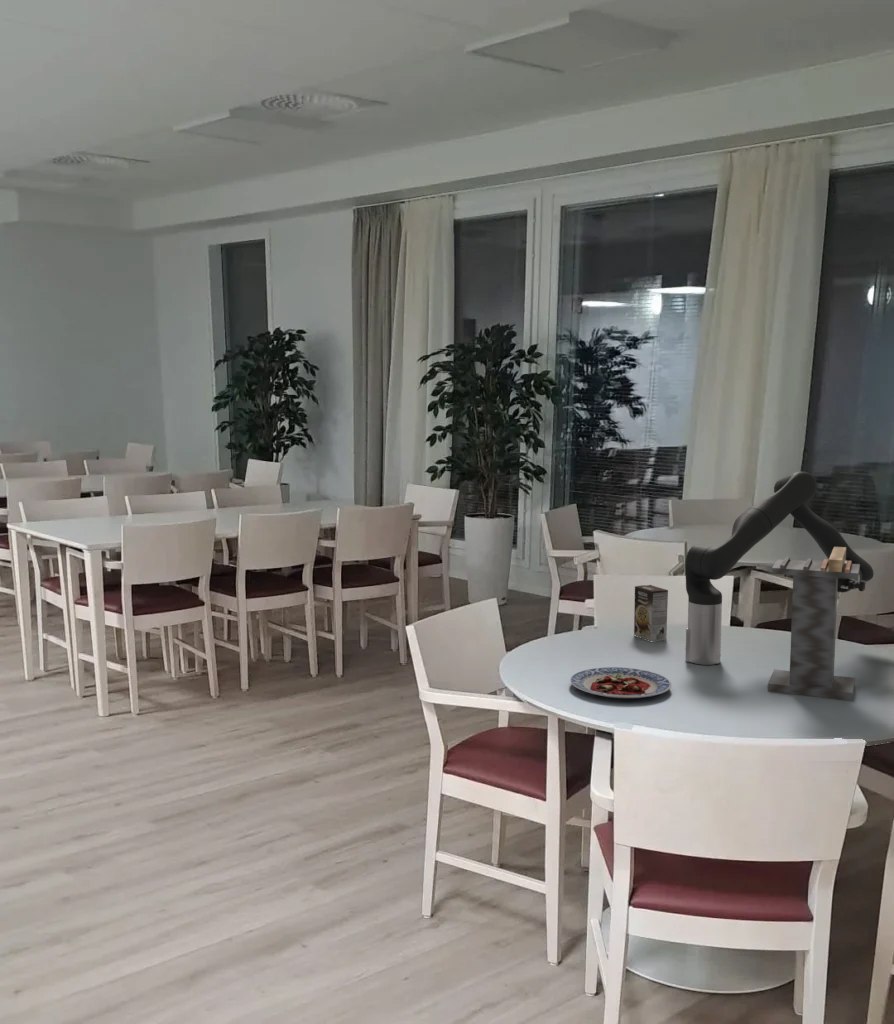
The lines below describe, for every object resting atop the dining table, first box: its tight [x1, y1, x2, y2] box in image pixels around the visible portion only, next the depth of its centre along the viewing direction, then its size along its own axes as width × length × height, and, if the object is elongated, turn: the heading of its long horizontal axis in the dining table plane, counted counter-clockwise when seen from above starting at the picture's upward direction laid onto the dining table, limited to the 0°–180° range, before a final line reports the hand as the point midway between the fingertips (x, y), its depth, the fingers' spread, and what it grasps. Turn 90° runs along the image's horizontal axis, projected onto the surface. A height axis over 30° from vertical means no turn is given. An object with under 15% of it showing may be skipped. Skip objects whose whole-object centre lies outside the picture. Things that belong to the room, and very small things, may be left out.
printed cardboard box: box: [633, 584, 669, 642], centre depth 297 cm, size 9×6×16 cm
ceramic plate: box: [570, 666, 672, 700], centre depth 247 cm, size 26×26×3 cm
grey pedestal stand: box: [767, 556, 860, 702], centre depth 244 cm, size 20×14×33 cm
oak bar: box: [828, 547, 846, 572], centre depth 244 cm, size 3×22×3 cm, turn 155°
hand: (833, 582), depth 259 cm, fingers open, 8 cm apart
